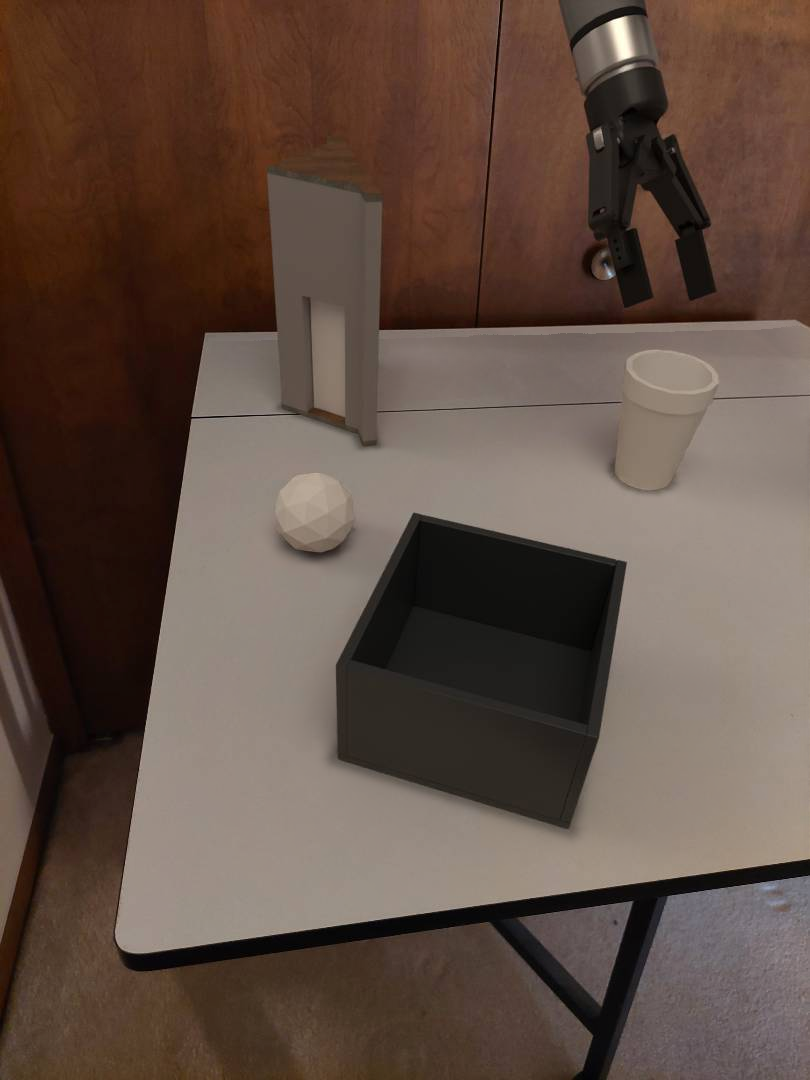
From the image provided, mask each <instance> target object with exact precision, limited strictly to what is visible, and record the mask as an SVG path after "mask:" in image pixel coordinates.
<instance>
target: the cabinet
mask: <svg viewBox="0 0 810 1080" xmlns="http://www.w3.org/2000/svg"><path fill="white" fill-rule="evenodd" d="M326 141H327V143H325V144H323V145H320V146H317V147H315V148H312V149H310V150H306V151H303V152H302V153H298V154H296V155H293V156H290V157H287V158H285V159H282V160H279V161H277V162H274V163H271V164H269V165H266V177H267V193H268V210H269V225H270V240H271V254H272V255H271V256H272V269H273V270H272V271H273V284H274V285H273V286H274V287H273V288H274V299H275V301H274V302H275V303H274V304H275V316H276V317H275V319H276V332H277V333H276V334H277V348H278V363H279V364H278V365H279V379H280V380H279V382H280V393H281V394H280V395H281V397H280V398H281V408H282V410H285V411H288V412H292V413H295V414H297V415H301V416H304V417H307V418H310V419H313V420H316V421H319V422H321V423H325V424H327V425H331V426H333V427H336V428H339V429H342V430H345V431H349V432H351V433H354V434H357V435H358V437H359V439H360V442H361V444H362V447H367V446H376V445H377V432H378V395H379V394H378V393H379V392H378V391H379V390H378V389H379V354H380V353H379V349H380V314H381V313H380V308H381V269H382V268H381V267H382V227H383V226H382V225H383V193H382V192H381V190H380V189H379V188H378V186H377V185H376V183H375V182H374V180H373V179H372V177H371V176H370V175H369V173H368V172H367V170H366V169H365V167H364V166H363V164H362V163H361V161H359V159H358V157H357V155H356V154H355V153H354V152H353V150H352V149H351V147H349V145H348V143H347V142H346V140H345V139H344V137H343V136H342V135H327V137H326Z"/></svg>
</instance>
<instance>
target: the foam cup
mask: <svg viewBox="0 0 810 1080" xmlns="http://www.w3.org/2000/svg"><path fill="white" fill-rule="evenodd" d="M719 383H720V382H719V373H718V372H717V371H716V370H715V369H714V368H713V367H712V366H711V365H710V364H709V363H708V362H706V361H703V360H702V359H700V358H697V357H695V356H693V355H692V354H688V353H683V352H680V351H675V350H665V349H647V350H643V351H639V352H635V353H634V354H632V355H631V356H629V357H627V358H626V362H625V365H624V370H623V374H622V378H621V386H620V389H621V391H622V393H621V394H622V395H621V404H620V413H619V425H618V434H617V444H616V454H615V463H614V474H615V476H616V477H617V478H618V480H619V481H621V482H623V483H624V484H626V485H627V486H629V487H632V488H635V489H637V490H642V491H657V490H660V489H665V488H666V487H667V486H668V485H669V484H670V483H671V481H672V479H673V478H674V476H675V474H676V472H677V470H678V468H679V466H680V464H681V463H682V460H683V458H684V456H685V454H686V452H687V450H688V448H689V446H690V444H691V442H692V440H693V438H694V436H695V433H696V432H697V430H698V428H699V426H700V424H701V421H702V420H703V418H704V416H705V413H706V412H707V410H708V408H709V406H711V405H712V404H713V401H714V398H715V395H716V392H717V390H718V386H719Z"/></svg>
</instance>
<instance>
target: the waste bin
mask: <svg viewBox="0 0 810 1080" xmlns="http://www.w3.org/2000/svg"><path fill="white" fill-rule="evenodd" d="M398 540H399V541H397V543H396V546H395V548H394V550H393V551H392V553H391V555H390V557H389V560H388V562H387V563H386V565H385V567H384V569H383V571H382V573H381V574H380V577H379V579H378V581H377V583H376V585H375V586H374V588H373V591H372V593H371V595H370V597H369V598H368V601H367V603H366V604H365V607H364V609H363V610H362V613H361V615H360V617H359V618H358V620H357V622H356V624H355V626H354V628H353V630H352V632H351V634H350V636H349V638H348V640H347V642H346V644H345V646H344V648H343V650H342V652H341V654H340V656H339V658H338V659H337V662H336V664H335V695H336V696H335V697H336V698H335V699H336V700H335V701H336V743H337V745H336V746H337V747H336V749H337V759H338V760H340V761H343V762H347V763H348V764H353V765H355V766H356V765H357V766H359V767H363V768H366V769H369V770H373V771H375V772H379V773H383V774H386V775H389V776H392V777H396V778H398V779H403V780H406V781H409V782H413V783H415V784H419V785H422V786H425V787H428V788H432V789H435V790H439V791H443V792H445V793H449V794H451V795H455V796H458V797H461V798H465V799H468V800H471V801H475V802H478V803H482V804H483V805H484V804H485V805H488V806H491V807H494V808H498V809H501V810H505V811H508V812H511V813H514V814H517V815H521V816H524V817H527V818H531V819H534V820H537V821H540V822H544V823H547V824H550V825H553V826H557V827H560V828H564V829H567V830H570V827H571V824H572V821H573V818H574V815H575V812H576V810H577V809H576V808H577V806H578V803H579V800H580V798H581V797H580V796H581V794H582V790H583V788H584V784H585V782H586V780H587V779H586V778H587V776H588V772H589V770H590V767H591V763H592V761H593V758H594V754H595V752H596V748H597V745H598V742H599V739H600V734H601V729H602V728H601V727H602V722H603V715H604V709H605V703H606V697H607V691H608V685H609V678H610V671H611V666H612V660H613V653H614V648H615V647H614V645H615V640H616V633H617V628H618V621H619V616H620V615H619V614H620V609H621V601H622V596H623V590H624V583H625V578H626V572H627V566H628V562H627V561H626V560H621V559H616V558H611V557H608V556H603V555H599V554H595V553H591V552H586V551H582V550H578V549H574V548H569V547H565V546H560V545H556V544H551V543H547V542H542V541H538V540H535V539H530V538H526V537H522V536H517V535H513V534H508V533H504V532H500V531H495V530H491V529H487V528H481V527H477V526H473V525H469V524H465V523H460V522H456V521H451V520H448V519H443V518H439V517H436V516H435V517H434V516H430V515H426V514H422V513H418V512H412V514H411V517H410V518H409V520H408V521H407V524H406V526H405V528H404V530H403V532H402V534H401V536H400V538H399V539H398Z"/></svg>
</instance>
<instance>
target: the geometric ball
mask: <svg viewBox="0 0 810 1080" xmlns="http://www.w3.org/2000/svg"><path fill="white" fill-rule="evenodd" d="M273 512H274V520H275V525H276V529H277V532H278V533H279V535H280V536H282V538H284V539H285V540H286V541H287V543H288V544H290V545H291V546H292V547H293V549H295V550H299V551H305V552H313V553H320V554H321V553H325V552H326V551H330V550H334V549H335V548H336V547H338V546H339V545H340V544H341V543H343V542H344V541H345V539H346V538H347V536H348V535H349V533H350V532H351V529H352V526H353V525H354V523H355V521H356V511H355V504H354V498H353V493H352V492H351V491H350V490H349V489H348V488H347V487H345V485H344V484H342V482H341V481H339V480H338V479H337V477H335V476H334V475H329V474H325V473H322V472H309V473H303V474H297V475H295V476H294V477H293V478H291V479H290V481H288V482H287V483H286V485H284V486H283V487H282V489H280V490H279V492H278V495H277V498H276V502H275V505H274V511H273Z"/></svg>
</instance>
